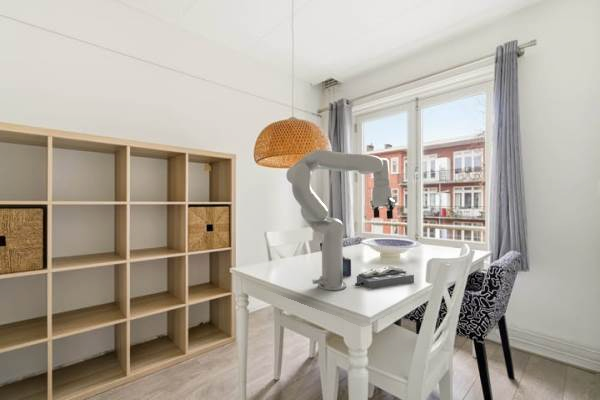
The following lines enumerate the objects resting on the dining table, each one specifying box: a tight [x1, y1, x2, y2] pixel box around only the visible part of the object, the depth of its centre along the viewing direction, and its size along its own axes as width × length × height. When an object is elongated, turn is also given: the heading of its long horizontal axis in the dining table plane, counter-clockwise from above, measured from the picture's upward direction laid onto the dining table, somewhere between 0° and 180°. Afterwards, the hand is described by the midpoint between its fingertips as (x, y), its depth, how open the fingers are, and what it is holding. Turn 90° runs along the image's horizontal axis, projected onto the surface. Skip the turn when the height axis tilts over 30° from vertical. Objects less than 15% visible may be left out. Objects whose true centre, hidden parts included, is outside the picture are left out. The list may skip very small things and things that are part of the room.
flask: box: [343, 256, 352, 277], centre depth 146 cm, size 9×3×11 cm, turn 72°
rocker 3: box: [388, 265, 404, 271], centre depth 137 cm, size 6×4×1 cm, turn 113°
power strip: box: [354, 269, 415, 290], centre depth 131 cm, size 30×10×4 cm, turn 113°
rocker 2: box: [375, 266, 391, 275], centre depth 134 cm, size 6×4×1 cm, turn 113°
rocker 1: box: [361, 268, 377, 276], centre depth 131 cm, size 6×4×1 cm, turn 113°
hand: (383, 218), depth 137 cm, fingers open, 9 cm apart
